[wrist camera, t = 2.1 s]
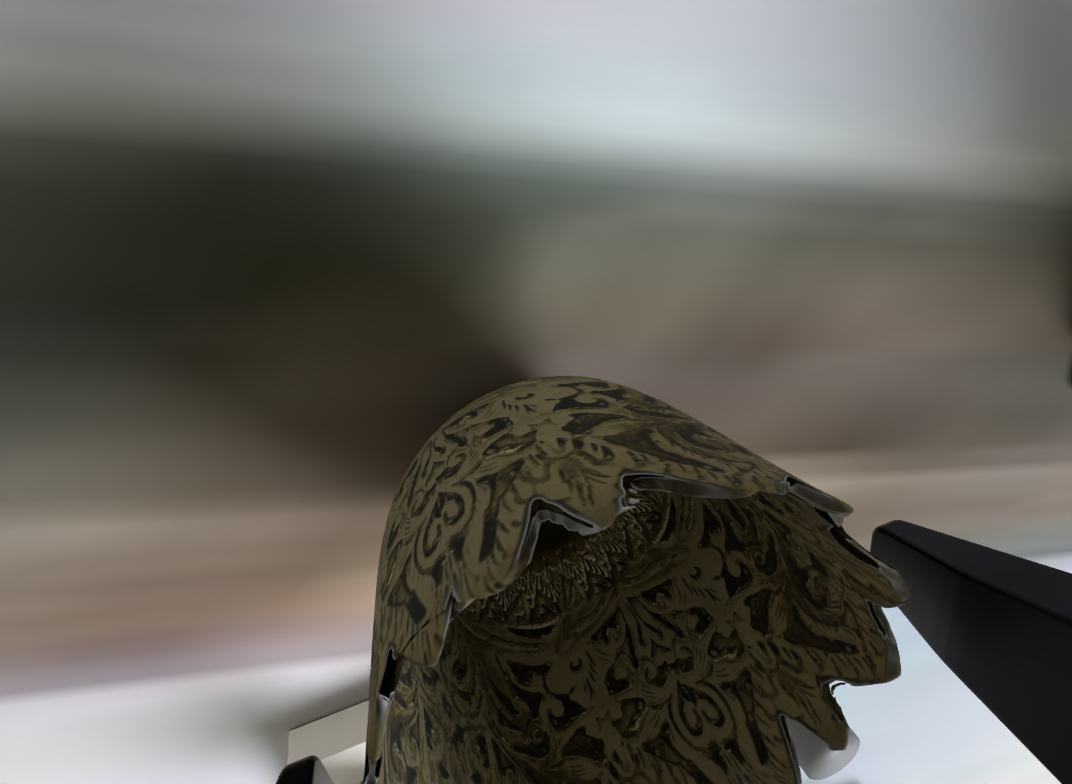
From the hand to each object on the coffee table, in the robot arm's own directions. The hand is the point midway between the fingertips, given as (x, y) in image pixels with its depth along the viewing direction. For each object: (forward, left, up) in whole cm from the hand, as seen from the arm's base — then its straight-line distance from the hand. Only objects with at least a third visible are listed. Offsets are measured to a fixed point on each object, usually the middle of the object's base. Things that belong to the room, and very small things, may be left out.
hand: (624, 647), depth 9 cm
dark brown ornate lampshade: (0, 0, -7) cm, 7 cm away
